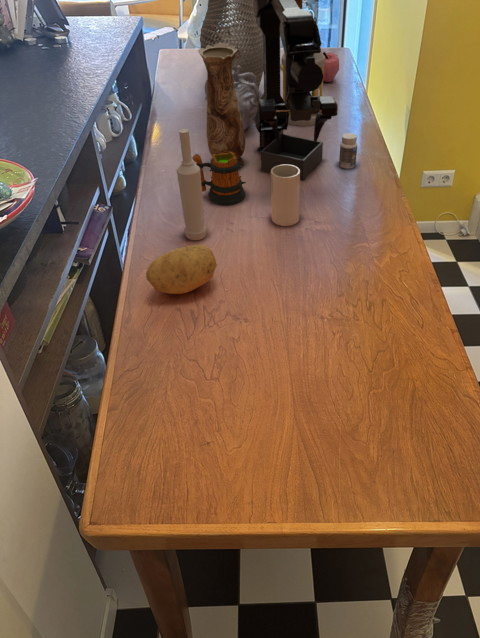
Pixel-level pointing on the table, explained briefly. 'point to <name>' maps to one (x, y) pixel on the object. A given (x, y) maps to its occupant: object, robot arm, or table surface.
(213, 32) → the vase
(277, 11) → the robot arm
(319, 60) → the lantern
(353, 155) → the pill bottle
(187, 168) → the bottle
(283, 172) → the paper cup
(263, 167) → the bin
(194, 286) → the potato
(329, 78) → the apple
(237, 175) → the mug
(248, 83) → the ornament
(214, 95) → the vase
